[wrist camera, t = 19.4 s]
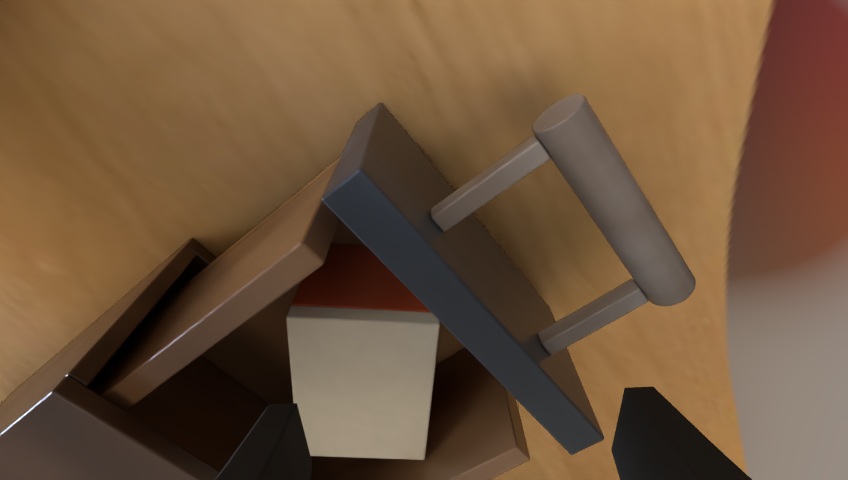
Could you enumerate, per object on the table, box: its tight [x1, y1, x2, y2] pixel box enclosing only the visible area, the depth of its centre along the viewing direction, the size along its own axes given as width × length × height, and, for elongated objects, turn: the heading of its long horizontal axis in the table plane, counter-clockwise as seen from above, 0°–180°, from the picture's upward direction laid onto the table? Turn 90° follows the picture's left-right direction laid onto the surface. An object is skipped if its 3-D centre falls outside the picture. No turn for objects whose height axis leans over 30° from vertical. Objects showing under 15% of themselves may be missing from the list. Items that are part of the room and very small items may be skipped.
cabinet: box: [0, 239, 221, 480], centre depth 19 cm, size 14×12×8 cm
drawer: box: [88, 94, 696, 480], centre depth 16 cm, size 18×11×7 cm, turn 128°
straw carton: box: [286, 244, 440, 460], centre depth 16 cm, size 6×4×4 cm
